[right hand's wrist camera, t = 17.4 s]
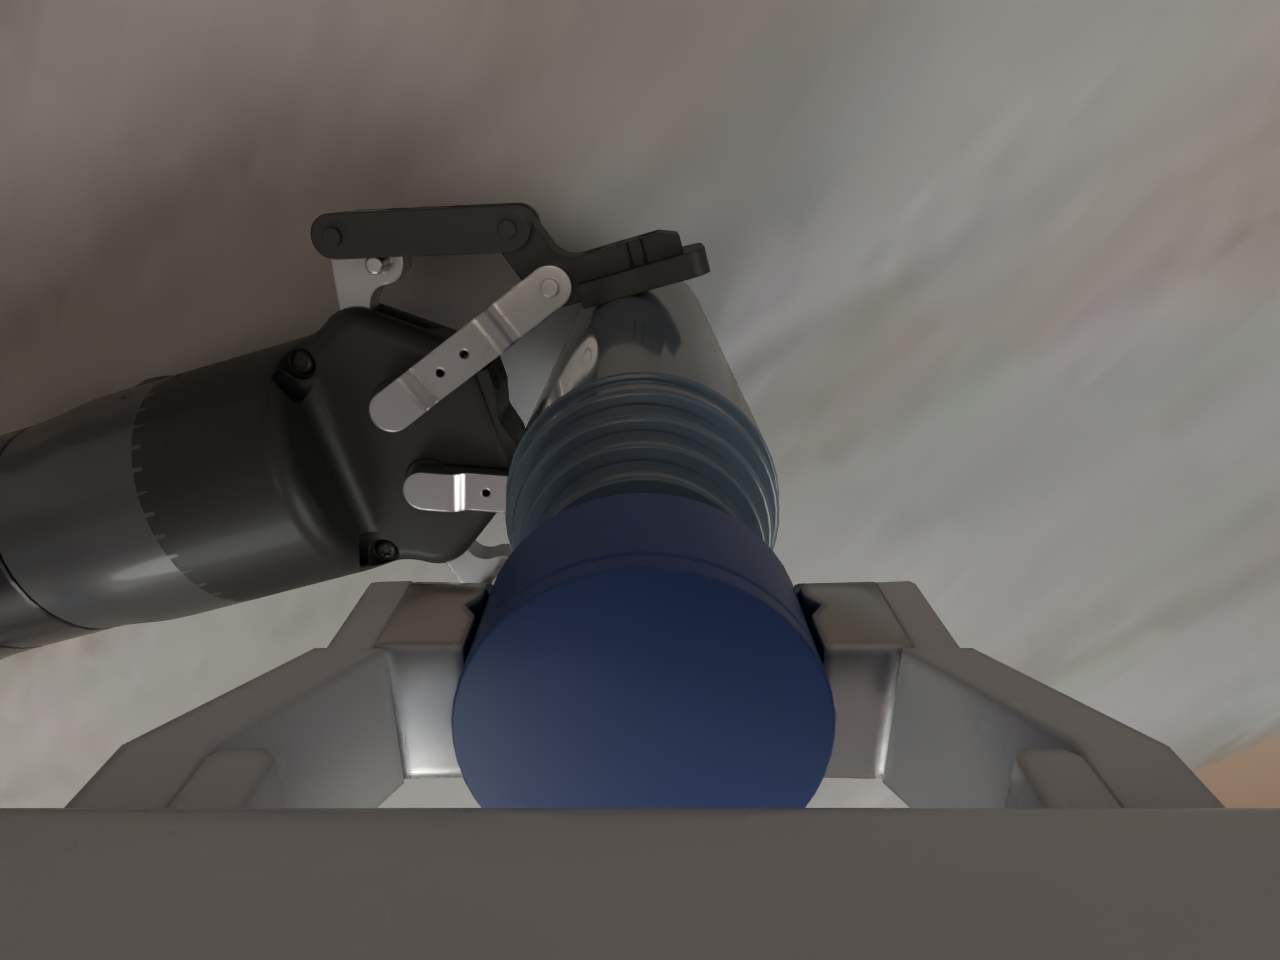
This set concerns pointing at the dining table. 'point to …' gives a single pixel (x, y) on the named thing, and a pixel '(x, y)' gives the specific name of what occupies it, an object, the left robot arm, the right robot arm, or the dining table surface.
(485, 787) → the cap
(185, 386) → the left robot arm
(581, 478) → the bottle
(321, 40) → the dining table surface
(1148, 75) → the dining table surface
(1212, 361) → the dining table surface
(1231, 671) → the dining table surface
